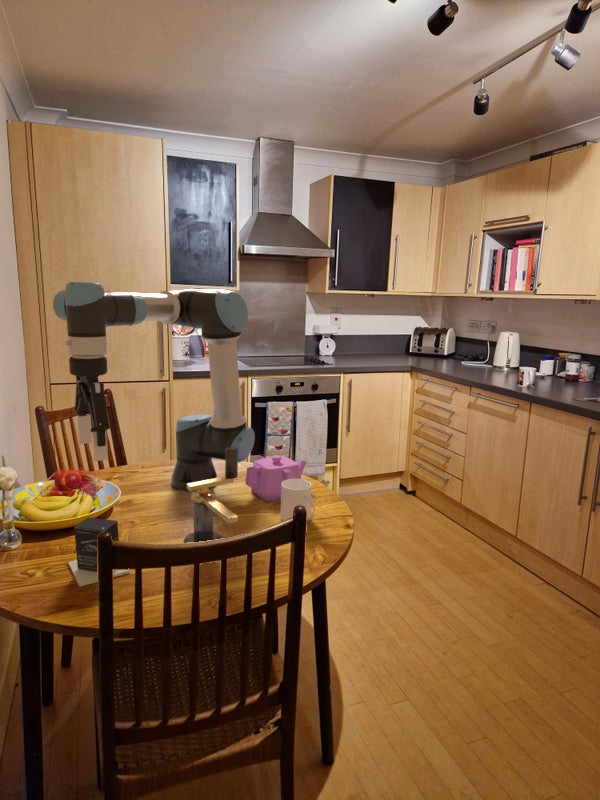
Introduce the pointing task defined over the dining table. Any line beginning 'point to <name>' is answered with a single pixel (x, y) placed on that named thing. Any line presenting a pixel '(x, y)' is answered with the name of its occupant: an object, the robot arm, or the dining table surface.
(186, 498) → the dining table surface
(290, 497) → the mug
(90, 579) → the pad
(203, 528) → the post
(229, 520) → the crank
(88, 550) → the box
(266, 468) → the teakettle
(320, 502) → the dining table surface
